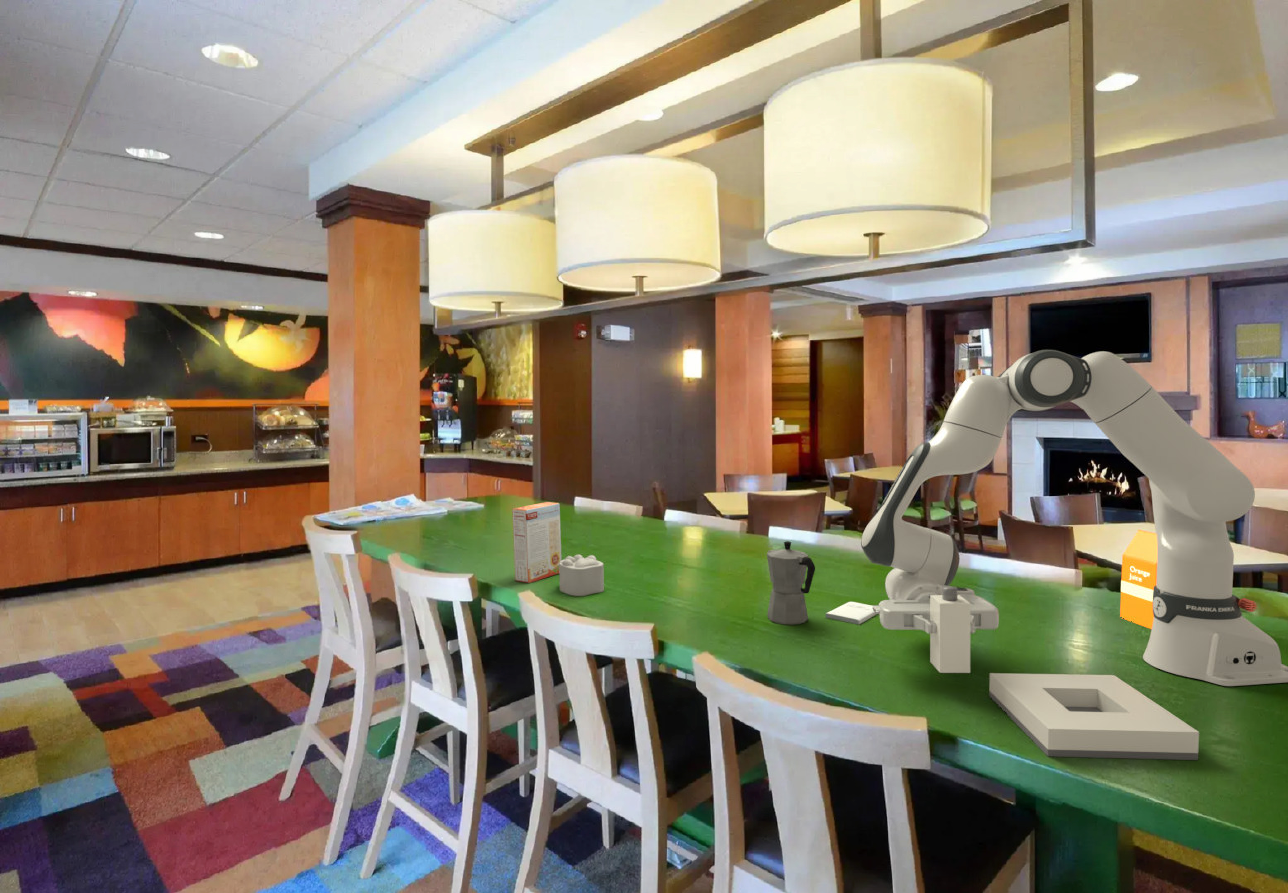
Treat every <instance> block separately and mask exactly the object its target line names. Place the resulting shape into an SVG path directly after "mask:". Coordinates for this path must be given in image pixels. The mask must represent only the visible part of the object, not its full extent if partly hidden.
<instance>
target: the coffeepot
mask: <svg viewBox="0 0 1288 893" xmlns="http://www.w3.org/2000/svg"><path fill="white" fill-rule="evenodd" d="M783 545H784V548H782V549H771V550H767V553H766V557H767V565H768V570H769V571H768V572H769V578H770V582H771V583H772V589H771V593H770V595H769V596H770V597H769V602H768V603H769V604H768V608H767V615H766V617H767V618H768V620H770V621H771V622H773V623H775V624H780V625H788V626H789V625H790V626H793V625H795V626H796V625H800V624H804V623H806V621H808V620H809V616H808V610H807V606H806V605H807V604H806V598H805V594H809V593H810V589H811V585H812V582H813V578H814V574H815V573H816V572H815V571H816V565H815V563H814V562H813V560H812V558H811V557H809V554H807V553H806V552H804V551H801V550H795V549H791V545H792V542H791V541H789V540H788V541H787V540H786V541H784V542H783ZM803 584H804V588H803Z"/></svg>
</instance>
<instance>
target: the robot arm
mask: <svg viewBox="0 0 1288 893" xmlns="http://www.w3.org/2000/svg"><path fill="white" fill-rule="evenodd" d="M1069 402H1070V403H1073V404H1075V405H1077V407H1079V408H1080V409H1081V410H1083V411H1084V412H1085V413H1086V414H1087V416H1088V417H1089V418H1090V420H1091V421H1092V422H1093V423H1094V424H1095V425H1096V426H1097V427H1098V428H1099V430H1100V431H1101V432H1102V433H1103V434H1104V435H1105V436H1106V437H1107V439H1108V440H1109V441H1110V442H1111V444H1113V446H1115V447H1116V449H1117V450H1118V451H1119V452H1120V453H1121V454H1122V455H1123V456H1124V457H1125V458H1126V459H1127V460H1128V461H1129V462H1130V463H1132V464H1133V465H1134V466H1135V468H1137V469H1138V470H1139V471H1140V472H1141V473H1142V474H1144V476H1146V477H1147V479H1148V482H1149V488H1150V490H1151V492H1150V493H1151V501H1152V514H1153V520H1154V521H1153V523H1154V527H1155V533H1156V536H1157V580H1156V586H1154V589H1153V604H1152V605H1153V616H1154V619H1153V625H1152V629H1150V630H1151V632H1150V635H1149V639H1148V642H1147V645H1146V649H1145V651H1144V653H1143V655H1142V658H1143V660H1144V661H1145V662H1146V663H1147V664H1148V665H1150V666H1152V667H1154V668H1156V669H1160V670H1162V671H1164V672H1168V673H1170V674H1174V675H1177V676H1182V677H1187V678H1191V679H1197V680H1201V681H1205V682H1208V683H1212V684H1216V685H1220V686H1223V687H1236V686H1237V687H1238V686H1253V685H1265V684H1267V685H1268V684H1269V685H1270V684H1281V683H1288V666H1287V665H1285V664H1282V658H1281V657H1282V656H1281V650H1280V647H1279V645H1278V643H1277V641H1275V640H1274V638H1273V637H1271V636H1270V635H1269V634H1268V633H1266V632H1264V631H1263V630H1261V629H1260V628H1259V627H1258V626H1256V625H1255V624H1253V623H1252V622H1251V621H1250V620H1248V619H1247V618H1245V617H1244V616H1243V613H1242V610H1245V611H1247V612H1250V613H1252V612H1255V611H1256V610H1257V608H1258V604H1257V603H1256V601H1254V600H1251V599H1248V598H1246V597H1245V598H1239V597H1238V596H1237V595H1234V594H1233V580H1234V559H1235V558H1234V556H1235V553H1234V549H1233V547H1232V545H1231V542H1230V538H1229V534H1228V529H1227V523H1226V522H1231V521H1236V520H1237V519H1239V518H1242V516H1244V515H1246V514H1248V512H1249V510H1250V509H1251V508H1252V506H1254V505H1253V504H1254V502H1255V497H1256V492H1255V488H1254V484H1253V483H1252V481H1251V480H1250V479H1249V478H1248V476H1247V475H1246V474H1245V473H1244V472H1242V471H1241V470H1240V469H1239V468H1238V467H1237V466H1235V464H1234V463H1232V462H1231V460H1230V459H1228V458H1227V457H1226V456H1225V455H1224V454H1223V453H1222V452H1221V451H1219V450H1218V448H1216V447H1215V446H1214V445H1213V444H1212V443H1210V442H1209V440H1207V439H1206V438H1205V437H1203V435H1201V434H1200V433H1199V432H1198V431H1196V429H1194V428H1193V427H1192V426H1190V424H1188V423H1187V422H1186V421H1185V420H1184V419H1183V418H1182V416H1180V415H1179V414H1178V413H1177V411H1175V410H1174V409H1173V408H1172V406H1171V405H1170V404H1169V403H1168V402H1167V401H1166V399H1164V397H1162V396H1161V395H1160V394H1159V393H1158V391H1157V390H1156V389H1155V387H1153V386H1152V385H1151V383H1149V381H1147V380H1146V379H1145V377H1143V375H1141V374H1140V373H1139V372H1138V371H1137V370H1136V369H1135V368H1133V367H1132V366H1131V365H1129V364H1128V363H1127V362H1126V361H1125V360H1123V359H1121V357H1119V356H1117V355H1116V354H1115V353H1113V352H1110V351H1104V350H1103V351H1102V350H1101V351H1095V352H1092V353H1089V354H1087V355H1084V356H1083V357H1081V358H1080V357H1077V356H1075V355H1071V354H1068V353H1066V352H1063V351H1059V350H1056V349H1041V350H1037V351H1034V352H1032V353H1027V354H1026V355H1024V356H1022V357H1020V358H1019V359H1017V360H1016V361H1015V362H1013V363H1012V364H1011V365H1009V366H1008V367H1007V368H1006V369H1005V370H1004V371H1003V372H1001V373H1000V374H999V375H998V376H994V375H989V374H977V375H972V376H969V377H967V378H966V379H965V380H963V382H962V383H961V385H960V386H959V388H958V390H957V391H956V393H955V395H954V396H953V399H952V401H951V402H950V405H949V406H948V409H947V410H946V413H945V417H944V419H943V422H942V424H941V426H940V428H939V430H938V432H936V433H935V435H934V436H933V437H932V438H931V439H930V440H929V441H926V442H922V443H919V444H918V445H917V446H916V447H915V448H914V449H913V451H912V452H911V453H910V454H909V456H908V458H907V459H906V461H905V463H904V464H903V465H902V468H901V469H900V471H899V473H898V474H897V475H896V477H895V480H894V481H893V483H892V485H891V487H890V488H889V490H888V492H887V494H886V496H885V497H884V499H883V501H882V502H881V504H880V506H879V508H878V509H877V510H876V512H875V513H874V515H873V516H872V518H871V519H870V521H869V522H868V524H867V525H866V527H865V529H864V531H863V533H862V536H861V541H860V547H861V548H862V551H863V553H864V555H865V557H867V559H868V560H869V561H870V562H871V563H872V564H875V565H880V566H884V567H892V568H893V569H891V570H890V571H889V572H888V574H887V575H886V578H885V584H884V586H885V592H886V595H887V598H888V599H884V600H881V601H880V602H879V603H878V605H877V604H876V605H872V606H873V611H874V612H875V613H877V614H876V615H879V622H880V624H881V626H882V627H883V628H884V629H886V630H894V631H895V630H897V631H898V630H903V631H904V630H917V631H918V630H920V631H924V632H926V634H930V633H936V632H937V630H936V628H937V625H936V623H935V622H934V621H930V595H942V587H943V586H951V584H952V583H953V580H954V578H956V575H957V572H958V570H959V565H960V552H959V549H958V546H957V543H956V542H955V540H954V538H953V537H952V536H951V535H950V534H947V533H944V532H941V531H938V530H935V529H931V528H929V527H924V526H922V525H918V524H914V523H912V522H908V521H905V520H904V519H903V516H904V514H905V512H906V511H907V509H908V507H909V505H910V504H911V503H912V500H913V498H914V496H915V495H916V494H917V491H918V490H919V488H920V486H921V485H923V483H924V482H926V481H927V480H929V479H931V478H935V477H938V476H939V477H940V476H950V475H951V476H953V475H954V476H955V475H965V474H966V475H967V474H971V473H975V472H978V471H980V470H983V469H984V468H985V467H987V466H988V465H989V464H990V463H991V462H992V461H993V459H994V458H995V455H996V454H997V451H998V449H999V447H1000V444H1001V441H1002V438H1003V437H1004V436H1003V435H1004V433H1005V430H1006V427H1007V424H1008V422H1009V421H1010V419H1011V417H1012V416H1013V415H1014V414H1015V413H1016V412H1034V411H1035V412H1040V411H1047V410H1049V409H1052V408H1056V407H1057V406H1061V405H1064V404H1066V403H1069ZM956 587H957V588H958V595H960V596H961V597H963V598H964V599H965V600H967V601H968V602H969V603H970V634H975V633H976V630H996V629H997V628H998V627H999V623H1000V622H999V621H1000V617H999V616H1000V613H999V609H998V608H997V607H996V606H995V605H994V604H993V603H991V601H988V600H987V599H985V598H984V597H981V596H978V595H976V594H975V591H974V590H973V589H971V588H967V587H959V586H956ZM1241 609H1242V610H1241Z"/></svg>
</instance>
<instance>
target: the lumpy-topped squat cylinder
mask: <svg viewBox="0 0 1288 893" xmlns="http://www.w3.org/2000/svg"><path fill="white" fill-rule="evenodd" d="M604 570H605V569H604V563H603V562H602V561H599V560H597V558H596V556H595V555H592V554H591V555H588V556H586V557H583V555H581V554H575V555H574V556H572V555H568V556H566V557H565V558H564V559H561V561H560V562H559V574H558V575H559V580H558V581H559V592H561V593H564V594H567V595H568V596H569V595H571V596H574V597H584V596H588V595H592V594H597V593H599V594H600V593H602V592H604V590H605V583H604V582H605V580H604V578H605V577H604V576H605V574H604V573H605V571H604Z"/></svg>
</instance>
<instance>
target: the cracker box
mask: <svg viewBox="0 0 1288 893" xmlns="http://www.w3.org/2000/svg"><path fill="white" fill-rule="evenodd" d="M560 508H561V507H560V503H559V502H552V501H551V502H550V501H545V502H541V503H535V504H531V505H525V506H520V507H514V508H512V509H511V510H512V511H511V512H512V532H513V533H512V534H513V536H512V537H513V559H514V578H515V581H517V582H522V583H528V584H531V583H533V582H537V581H540V580H543V579H546V578H548V577H552V576H555V575H559V562H560V561H561V560H562V540H561V537H562V536H561V533H562V532H561V511H560V510H561V509H560Z"/></svg>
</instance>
